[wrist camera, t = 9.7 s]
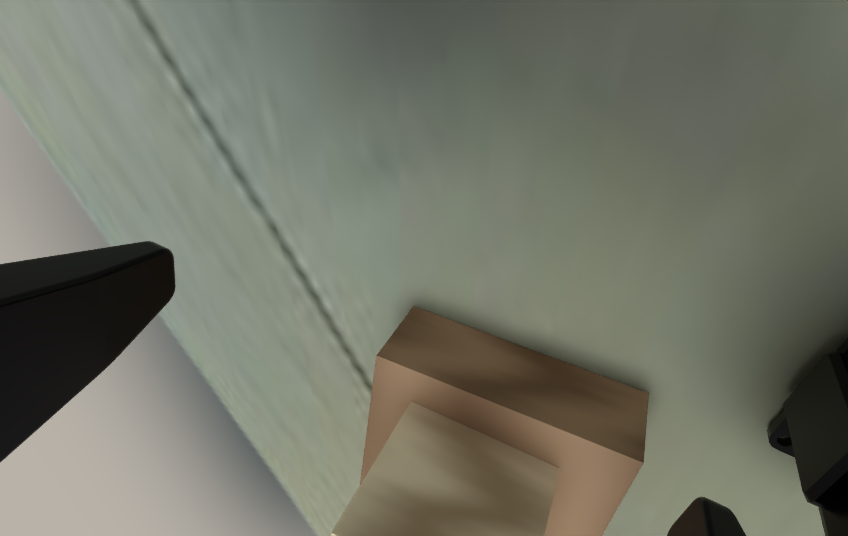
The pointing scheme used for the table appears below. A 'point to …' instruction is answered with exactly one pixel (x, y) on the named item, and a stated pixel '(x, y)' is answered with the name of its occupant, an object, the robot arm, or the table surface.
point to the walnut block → (516, 411)
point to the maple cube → (449, 484)
